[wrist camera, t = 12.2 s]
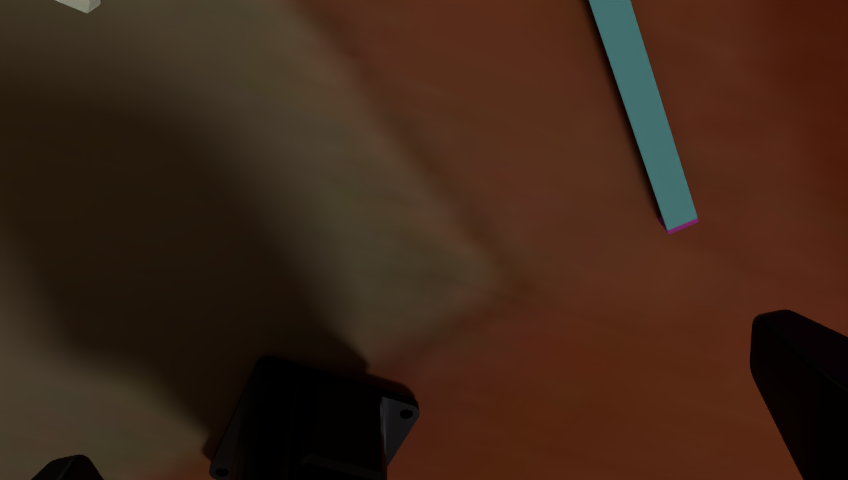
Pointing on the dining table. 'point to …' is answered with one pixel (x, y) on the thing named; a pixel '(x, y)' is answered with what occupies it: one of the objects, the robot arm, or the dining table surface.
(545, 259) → the dining table surface
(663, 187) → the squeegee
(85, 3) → the sage board
